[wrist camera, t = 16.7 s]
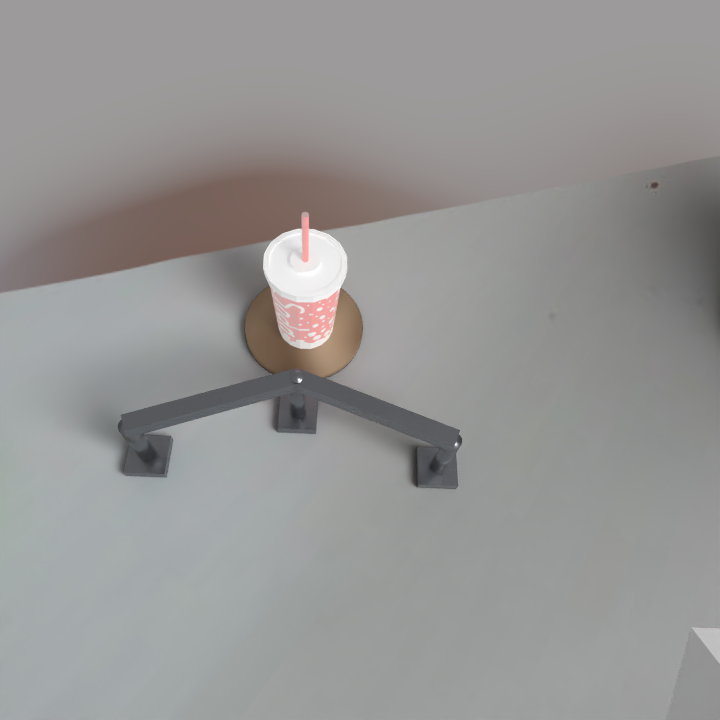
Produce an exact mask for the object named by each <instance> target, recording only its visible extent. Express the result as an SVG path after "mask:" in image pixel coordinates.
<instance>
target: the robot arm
mask: <svg viewBox="0 0 720 720" xmlns="http://www.w3.org/2000/svg"><path fill="white" fill-rule="evenodd" d="M666 720H720V628H691V631H690V634H689V638H688V642H687V645H686V649H685V652H684V656H683V660H682V663H681V667H680V670H679V674H678V678H677V681H676V685H675V689H674V692H673V696H672V699H671V703H670V707H669V710H668V714H667V717H666Z"/></svg>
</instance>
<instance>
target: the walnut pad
mask: <svg viewBox="0 0 720 720" xmlns="http://www.w3.org/2000/svg"><path fill="white" fill-rule="evenodd" d="M362 330H363V324H362V317H361V314H360V311H359V308H358V307H357V305H356V303H355V302H354V300H353V299H352V297H351V296H350V295H349V294H348V293H347V292H346V291H344V290H343V289H342V288H340V293H339V298H338V304H337V309H336V314H335V319H334V325H333V330H332V332H331V334H330V337H329V339H328V340H326V341H325V342H324V343H323V344H322V345H320V346H317V347H315V348H312V349H300V348H297V347H294V346H292V345H290V344H289V343H288V342H286V341H285V340H284V339H283V337H282V335H281V333H280V331H279V327H278V322H277V317H276V312H275V307H274V303H273V298H272V293H271V288H270V286H269V287H267V288H266V289H264V290H263V291H262V292H261V293H260V294H259V295H258V296H257V297H256V298H255V299H254V301H253V302H252V304H251V305H250V307H249V309H248V312H247V315H246V320H245V334H246V340H247V344H248V347H249V349H250V351H251V353H252V355H253V357H254V358H255V359H256V361H257V362H258V363H259V364H260V365H261V366H262V367H263V368H264V369H266V370H267V371H269V372H270V373H272V374H276V373H280V372H284V371H288V370H291V369H295V368H296V369H298V368H299V369H301V370H304V371H307V372H309V373H312V374H314V375H317V376H320V377H322V378H327V377H330V376H332V375H334V374H336V373H338V372H339V371H340V370H342V369H343V368H344V367H346V366H347V365H348V364H349V363H350V361H351V360H352V359H353V358H354V356H355V354H356V353H357V351H358V349H359V346H360V342H361V338H362Z"/></svg>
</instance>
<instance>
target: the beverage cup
mask: <svg viewBox="0 0 720 720" xmlns="http://www.w3.org/2000/svg"><path fill="white" fill-rule="evenodd" d="M263 270H264V275H265V277H266V279H267V281H268V283H269V286H270V288H271V293H272V298H273V303H274V307H275V312H276V317H277V322H278V327H279V331H280V333H281V335H282V337H283V339H284V340H285V341H286V342H288V343H289V344H290V345H292V346H294V347H297V348H300V349H312V348H315V347H317V346H320V345H322V344H323V343H324V342H325V341H326V340H328V339H329V337H330V334H331V332H332V330H333V325H334V319H335V314H336V309H337V304H338V298H339V293H340V288H341V285H342V283H343V281H344V279H345V277H346V273H347V255H346V253H345V252H344V250H343V248H342V246H341V244H340V243H339V242H338V241H336V240H335V239H334V238H333V237H331V236H330V235H329V234H326V233H323V232H321V231H318V230H315V229H309V214H308V213H307V212H303V213H302V229H296V230H292V231H289V232H285V233H283V234H281V235H280V236H278V237H277V238H276V239H274V240H273V241H272V242H271V243H270V244H269V246H268V248H267V250H266V251H265V253H264V261H263Z"/></svg>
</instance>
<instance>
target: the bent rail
mask: <svg viewBox="0 0 720 720" xmlns="http://www.w3.org/2000/svg"><path fill="white" fill-rule="evenodd" d="M278 396H280V405H279V416H278V428H277V429H278V432H286V433H309V434H316V423H317V405H318V400H319V401H322V402H325V403H327V404H330V405H332V406H335V407H337V408H340V409H343V410H345V411H348V412H350V413H353V414H355V415H358V416H361V417H363V418H366V419H368V420H371V421H374V422H376V423H379V424H381V425H384V426H386V427H389V428H392V429H394V430H397V431H399V432H402V433H404V434H407V435H410V436H412V437H415V438H417V439H420V440H422V441H425V442H428V443H430V444H433V445H435V446H438V447H439V448H434V447H417V450H416V462H417V487H420V488H445V489H456V488H457V486H458V480H457V462H456V452H457V450H458V449H459V447H460V446H461V444H462V438H461V436H460V435H459V431H460V430H458V429H455V428H453V427H450V426H447V425H445V424H442V423H440V422H437V421H434V420H432V419H429V418H426V417H424V416H421V415H419V414H416V413H413V412H411V411H408V410H406V409H403V408H400V407H398V406H395V405H393V404H390V403H387V402H385V401H382V400H380V399H377V398H374V397H372V396H369V395H367V394H364V393H361V392H359V391H356V390H353V389H351V388H348V387H346V386H343V385H340V384H338V383H335V382H333V381H330V380H327V379H325V378H322V377H320V376H317V375H314V374H312V373H309V372H307V371H304V370H301V369H299V368H298V369H296V368H295V369H291V370H288V371H284V372H280V373H276V374H273V375H269V376H265V377H261V378H258V379H254V380H250V381H246V382H243V383H239V384H235V385H231V386H228V387H224V388H220V389H216V390H212V391H209V392H205V393H201V394H197V395H194V396H190V397H186V398H182V399H179V400H175V401H171V402H167V403H164V404H160V405H156V406H152V407H149V408H145V409H141V410H137V411H134V412H130V413H126V414H122V415H121V418H122V420H121V421H120V422H119V424H118V430H119V432H120V433H121V434H122V435H123V437H124V438H125V439H126V441H127V442H128V443H129V447H128V451H127V456H126V461H125V466H124V471H123V473H124V474H125V475H126V476H145V477H167V472H168V467H169V461H170V455H171V449H172V443H173V439H172V437H171V436H159V435H145V434H144V433H147V432H151V431H155V430H158V429H162V428H165V427H169V426H173V425H176V424H180V423H184V422H187V421H191V420H195V419H198V418H202V417H205V416H209V415H213V414H216V413H220V412H224V411H227V410H231V409H235V408H238V407H242V406H245V405H249V404H253V403H256V402H260V401H264V400H267V399H271V398H275V397H278Z"/></svg>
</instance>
